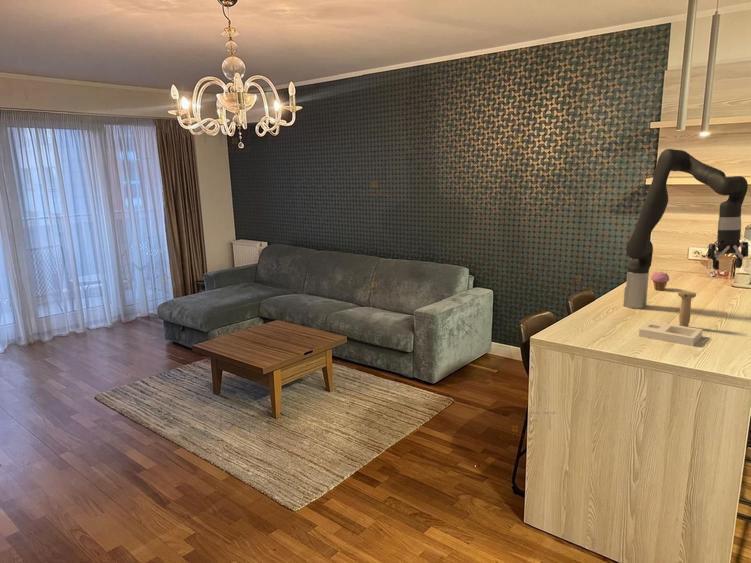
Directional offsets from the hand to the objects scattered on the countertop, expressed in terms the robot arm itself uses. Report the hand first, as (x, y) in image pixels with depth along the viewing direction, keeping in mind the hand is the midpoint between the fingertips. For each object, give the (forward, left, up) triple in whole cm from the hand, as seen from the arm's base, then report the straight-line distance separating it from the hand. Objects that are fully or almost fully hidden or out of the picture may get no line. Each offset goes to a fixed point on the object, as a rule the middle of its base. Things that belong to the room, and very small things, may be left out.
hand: (727, 268), depth 201 cm
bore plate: (-13, -20, -26) cm, 35 cm away
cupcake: (-39, +60, -26) cm, 76 cm away
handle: (-12, -4, -26) cm, 29 cm away
